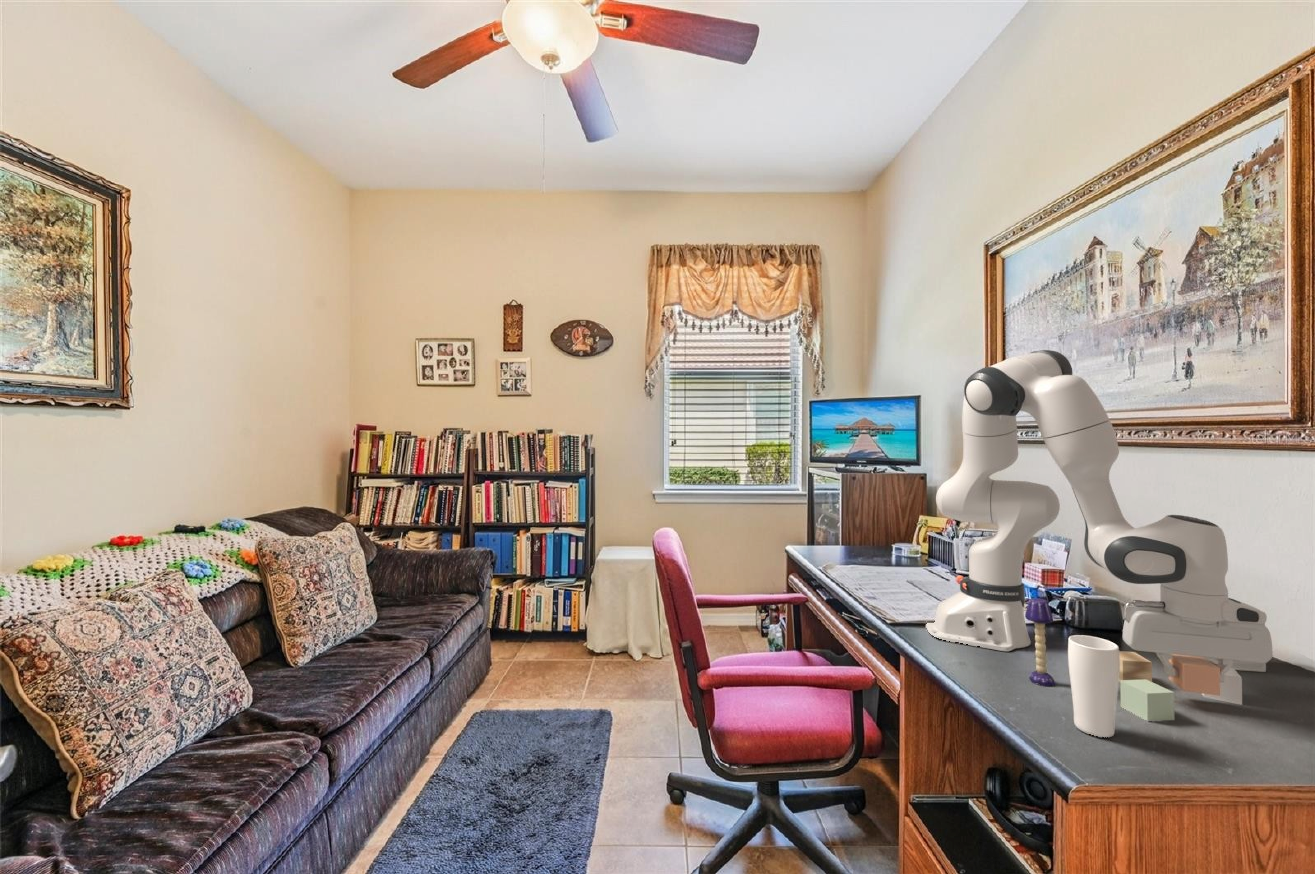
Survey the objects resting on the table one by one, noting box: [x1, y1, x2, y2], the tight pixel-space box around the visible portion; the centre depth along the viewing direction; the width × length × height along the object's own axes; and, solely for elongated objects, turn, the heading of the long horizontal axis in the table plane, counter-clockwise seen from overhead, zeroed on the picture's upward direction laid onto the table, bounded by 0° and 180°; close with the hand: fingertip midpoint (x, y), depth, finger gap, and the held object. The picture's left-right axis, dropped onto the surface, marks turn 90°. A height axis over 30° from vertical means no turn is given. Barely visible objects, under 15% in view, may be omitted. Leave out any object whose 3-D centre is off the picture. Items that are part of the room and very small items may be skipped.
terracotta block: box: [1168, 654, 1220, 696], centre depth 98 cm, size 5×5×5 cm
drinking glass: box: [1067, 634, 1120, 739], centre depth 90 cm, size 7×7×15 cm
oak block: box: [1119, 650, 1153, 683], centre depth 108 cm, size 5×5×5 cm
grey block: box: [1201, 668, 1243, 706], centre depth 101 cm, size 5×5×5 cm
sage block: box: [1119, 679, 1175, 722], centre depth 95 cm, size 5×5×5 cm
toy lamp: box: [1024, 597, 1056, 687], centre depth 107 cm, size 5×5×17 cm
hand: (1193, 678), depth 98 cm, fingers closed on terracotta block, 5 cm apart
